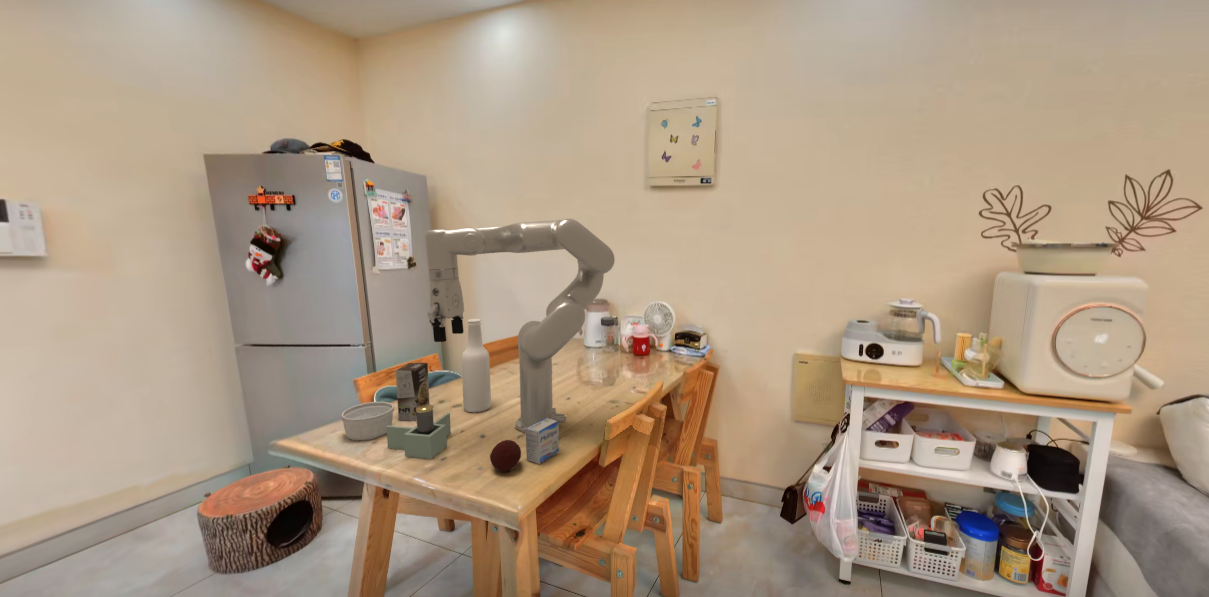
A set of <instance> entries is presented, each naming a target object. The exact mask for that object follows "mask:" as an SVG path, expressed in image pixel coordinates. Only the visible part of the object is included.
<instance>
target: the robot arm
mask: <svg viewBox="0 0 1209 597" xmlns="http://www.w3.org/2000/svg"><path fill="white" fill-rule="evenodd" d="M424 236H425V237H424V238H425V239H424V240H425V248H426V257H427V258H426V260H427V268H428V272H427V273H428V279H429V282H430V283H429V303H430V306H429V307H430V309H429V311H428V312H427V316H428V319H429V323H430V324H431V328H432V333H433V341H434V342H435V343H445V342H446V341H447V334H446V332H447V331H446V326H444V325H445V322H446V319H450V322H451V324H450V325H451V333H452V334H454V335H455V334H456V335H457V334H461V335H463V334H464V323H463V322H464V321H463V319H464V315H463V313H464V312H465V306H464V304H465V303H464V298H463V292H462V286H461V282H460V278H459V265H458V264H459V263H458V255H459V256H470V257H471V256H473V257H474V256H477V255H482V254H483V255H484V254H485V255H486V254H494V253H496V254H497V253H514V254H521V253H534V252H536V253H537V252H545V251H558V250H559V251H561V250H565V251H566V252H568V253H569V254H570V255H571V256H572V257H574V258H575V259H577V265H578V266H577V267H578V269H577V270H578V271H577V274H576V276H575V278H574V279H573V280H572V281H571V282H570V283H569V285H568V286H567V287H566V288H564V289H563V291H561V292H560V293H559V294H558V295H556V297H554V299H552V300H551V301H550V302H549V303H548V305H547V307H546V310H545V315H546V317H544V319H542V320H541V321H539V320H530V321H527V322H526V323H525V324H523V325H522V326H521V328H520V329H519V331H518V333H517V334H518V335H517V346H518V348H517V349H518V350H517V351H518V360H519V362H518V363H519V397H520V402H519V403H520V417H519V418H518V419H517V420H516V421H515V428H516V430H518V431H520V432H522V433H525V434H526V428H528V427H530V426H532V425H534V424H536V423H537V422H539V421H541V420H543V419H545V418H548V419H552V420H556V421H558V424H559V423H561V424H566V421H567V416H565V413H557V412H556V408H555V407H553V363H552V360H553V359H552V357H554V356H556V355H557V353H559V352H560V350H561V349H563V348H564V347H565V346H566V345H567V344H568V343H569V342H570V341H571V339H573V338H574V337H575V336H576V335H578V334H577V333H579V332H580V330H581V329H582V327H583V326H584V324H585V321H586V312H585V310H586V309H587V308H588V307H589V306H590V304H592V302H593V301H594V300H595V299H596V298H597V297H598V296H599V294H600V292H601V290H602V288H603V283H604V277H605V275H604V274H607V273H608V272H610V271H611V270H612V269H613V267H614V265H615V254H614V252H613V250H612V249H611V247H609V246H608V245H607V244H606V243H605V242H604V241H602V240H601V239H600V238H599V237H598V236H597V235H595V234H594V233H592V232H591V231H590V230H589V229H588V228H586V226H584V225H583V224H582V223H580V222H579V221H578V220H576V219H573V218H565V219H557V220H544V221H543V220H542V221H523V222H515V223H512V224H508V225H503V226H492V227H479V228H478V227H477V228H475V227H464V228H458V229H447V228H444V229H443V228H442V229H441V228H439V229H437V228H436V229H429V230H427V231H426V232H425V235H424Z"/></svg>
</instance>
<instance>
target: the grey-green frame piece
mask: <svg viewBox="0 0 1209 597" xmlns="http://www.w3.org/2000/svg"><path fill="white" fill-rule="evenodd" d="M386 428H387V433H386V440H387V443H386V444H387V449H394V450H404V457H405V456H407V457H406V458H417V459H424V458H426V460H433V458H435V457H436V456H437V455H438V454H439V453H440V452H442V451H443V450H444V449H445V448H447V446H448V440H447V437H448V436H449V435H450V434H451V433H452V432H451V431H452V429H451V428H452V427H451V412H450V413H449V412H447V413H445V414H444V415H442V416H441V417H440V418H438V419H437V420H435V421H434V431H433V432H432V433H431V434H429V435H424V434H418V433H417V425H415V426H414V427H413V426H412V427H411V426H409V427H408V426H401V425H400V426H399V425H392V426H389V425H388V426H387V427H386Z"/></svg>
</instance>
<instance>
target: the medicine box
mask: <svg viewBox="0 0 1209 597" xmlns="http://www.w3.org/2000/svg"><path fill="white" fill-rule="evenodd" d="M559 443H560V442H559V422H558V421H556V420H552V419H548V418H545V419H543V420H541V421H539V422H537V423H536V424H534V425H532V426H530V427H528V428H526V433H525V452H526V455H525V456H526V460H527V461H529V462H531V461H532V463H534V462H535V464H537V463H538V465H541V464H543V463H544V462H546V461H547V460H548V458H549V457H550V458H552V457H553V456H555V455H556V454H558V453H559ZM557 452H558V453H557ZM552 455H553V456H552ZM550 458H549V459H550ZM546 459H547V460H546ZM545 460H546V461H545ZM543 461H544V462H543ZM542 462H543V463H542ZM540 463H541V464H540Z"/></svg>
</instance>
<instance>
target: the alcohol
mask: <svg viewBox="0 0 1209 597" xmlns="http://www.w3.org/2000/svg"><path fill="white" fill-rule="evenodd" d="M481 321H482V320H481V319H480V318H469V319H468V320H467V322H468V323H467V326H468V327H467V328H468V329H467V346H466V348H465V350H464V351H463V353H462V354H461V374H462V375H461V377H462V382H461V383H462V398H463V400H462V402H463V403H462V404H463V409H464V410H465V412H467V413H470V412H473V414H477V413H476V412H479V413H483V412H485V410H486V411H488V410H489V409H490V407H491V406H492V393H491V388H492V387H491V365H490V364H491V363H490V362H491V361H490V353H489V351H488V350H487V349H486V348H485V347H484V344H483V338H482V335H483V334H482V330H481V329H482V328H481V324H482V323H481ZM487 409H488V410H487ZM482 411H483V412H482Z"/></svg>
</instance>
